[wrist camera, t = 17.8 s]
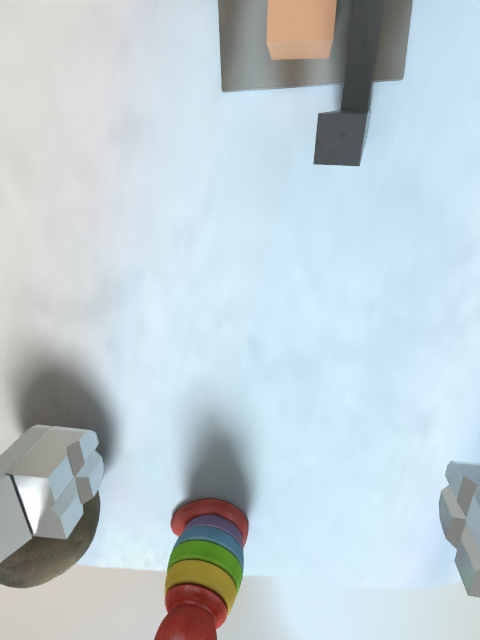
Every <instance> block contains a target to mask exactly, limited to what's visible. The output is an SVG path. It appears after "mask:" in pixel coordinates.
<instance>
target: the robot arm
mask: <svg viewBox="0 0 480 640" xmlns="http://www.w3.org/2000/svg"><path fill="white" fill-rule="evenodd" d="M98 444H99V442H98V438H97V435H96V432H94V431H92V430H85V429H76V428H67V427H59V426H55V427H54V426H46V425H35V426H32V427H30V428H29V429H28V430H27V431H26V432H25V433H24V434H23V435H22V436H21V437H20V438H19V439H18V440H17V441H15V442H14V443H13V444H12V445H11V446H10V447H9V448H8V449H7V450H6V451H5V452H4V453H3V454H2V455H1V456H0V563H1V562H2V561H3V560H4V559H6V558H7V557H8V556H10V555H11V554H12V553H13V552H15V551H16V550H17V549H19V548H20V547H21V546H22V545H24V544H25V543H26V542H28V541H29V540H30V539H32V536H38V537H48V538H57V539H67V538H68V537H69V535H70V534H71V532H72V530H73V529H74V527H75V526H76V524H77V523H78V521H79V520H80V518H81V516H82V515H83V504H84V503H86V502H87V501H89V500H90V499H92V498H93V497H94V496H95V494H96V493H97V491H98V489H99V488H100V485H101V481H102V478H103V475H104V464H103V459H102V457H101V456H100V455H99V454H98V453H97V452H96V450H95V449H96V447H97V446H98ZM445 476H446V479H447V481H448V483H449V485H448V486H447V487H446V488H444V489H443V490H442V491H441V494H440V500H439V516H440V521H441V525H442V529H443V531H444V534H445V537H446V539H447V540H448V541H449V542H450V543H451V544H452V545H453V546H454V547H455V548H456V549H457V553H456V557H455V560H454V561H455V563H456V566H457V568H458V571H459V573H460V576H461V578H462V581H463V583H464V586H465V589H466V591H467V594H468V596H474V597H480V463H469V462H456V461H451V462H450V463H449V464H448V466H447V469H446V473H445Z"/></svg>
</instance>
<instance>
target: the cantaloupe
mask: <svg viewBox="0 0 480 640" xmlns="http://www.w3.org/2000/svg"><path fill="white" fill-rule="evenodd" d="M99 514H100V497H99V491H97V493H96V494H95V496H94V497H93V498H92V499H90V500H89V501H87V502H86V503H84V504H83V515H82V516H81V518H80V520H79V521H78V523H77V524H76V526H75V527H74V529H73V530H72V532H71V534H70V535H69V537H68V538H67V539H57V538H48V537H38V536H32V539H30V540H29V541H28V542H26V543H25V544H24V545H22V546H21V547H20V548H19V549H17V550H16V551H15V552H13V553H12V554H11V555H10V556H8V557H7V558H6V559H4V560H3V561H2V562H1V563H0V584H3V585H5V586H8V587H14V588H29V587H33V586H38V585H41V584H43V583H46V582H48V581H50V580H52V579H53V578H55V577H57V576H59V575H61V574H63V573H64V572H65V571H66V570H68V569H69V568H70V567H71V566H73V565H74V564H75V563H76V562H77V561H78V560H79V559H80V558H81V557H82V556H83V555H84V553H85V552H86V551H87V549H88V548H89V546H90V544H91V542H92V540H93V538H94V536H95V532H96V529H97V525H98V521H99Z"/></svg>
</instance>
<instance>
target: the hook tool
mask: <svg viewBox="0 0 480 640" xmlns="http://www.w3.org/2000/svg"><path fill="white" fill-rule="evenodd" d="M384 5H385V0H354V8H353V17H352V25H351V33H350V41H349V50H348V58H347V66H346V74H345V82H344V91H343V99H342V107H341V110H338V111H331V112H325V113H318V123H317V133H316V144H315V154H314V164H322V165H345V166H360V162H361V158H362V155H363V151H364V147H365V143H366V137H367V131H368V125H369V118H370V112H371V110H368V108H369V102H370V95H371V89H372V82H373V76H374V69H375V63H376V56H377V50H378V43H379V37H380V30H381V24H382V17H383V11H384Z"/></svg>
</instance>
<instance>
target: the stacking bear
mask: <svg viewBox="0 0 480 640" xmlns="http://www.w3.org/2000/svg"><path fill="white" fill-rule="evenodd" d="M171 528H172V531H173V533H174V534H176V535H177V536H178V537H179V538H178V540H177V542H176V543H175V546H174V548H173V550H172V553H171V555H170V559H169V563H168V568H167V577H166V583H165V606H166V609H167V612H168V614H167V616H166V617H165V618H164V619H163V621H162V623H161V625H160V626H159V629H158V631H157V633H156V636H155V639H154V640H217V634H216V629H217V628H219V627H220V626H221V625H222V624H223V623H224V621H225V620H226V617H227V615H228V614H229V612H230V611H231V608H232V606H233V603H234V601H235V598H236V595H237V593H238V591H239V588H240V584H241V581H242V574H243V565H244V556H243V547H244V545H245V543H246V540H247V535H248V523H247V520H246V518H245V516H244V515H243V513H242V512H241V511H240V510H239V509H238V508H236V507H235V506H233V505H232V504H230V503H228V502H225V501H222V500H217V499H203V500H198V501H195V502H192V503H189V504H187V505H185V506H183V507H182V508H180V509H179V510H178V511H177V512H176V513H175V514H174V515H173V517H172V519H171Z"/></svg>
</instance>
